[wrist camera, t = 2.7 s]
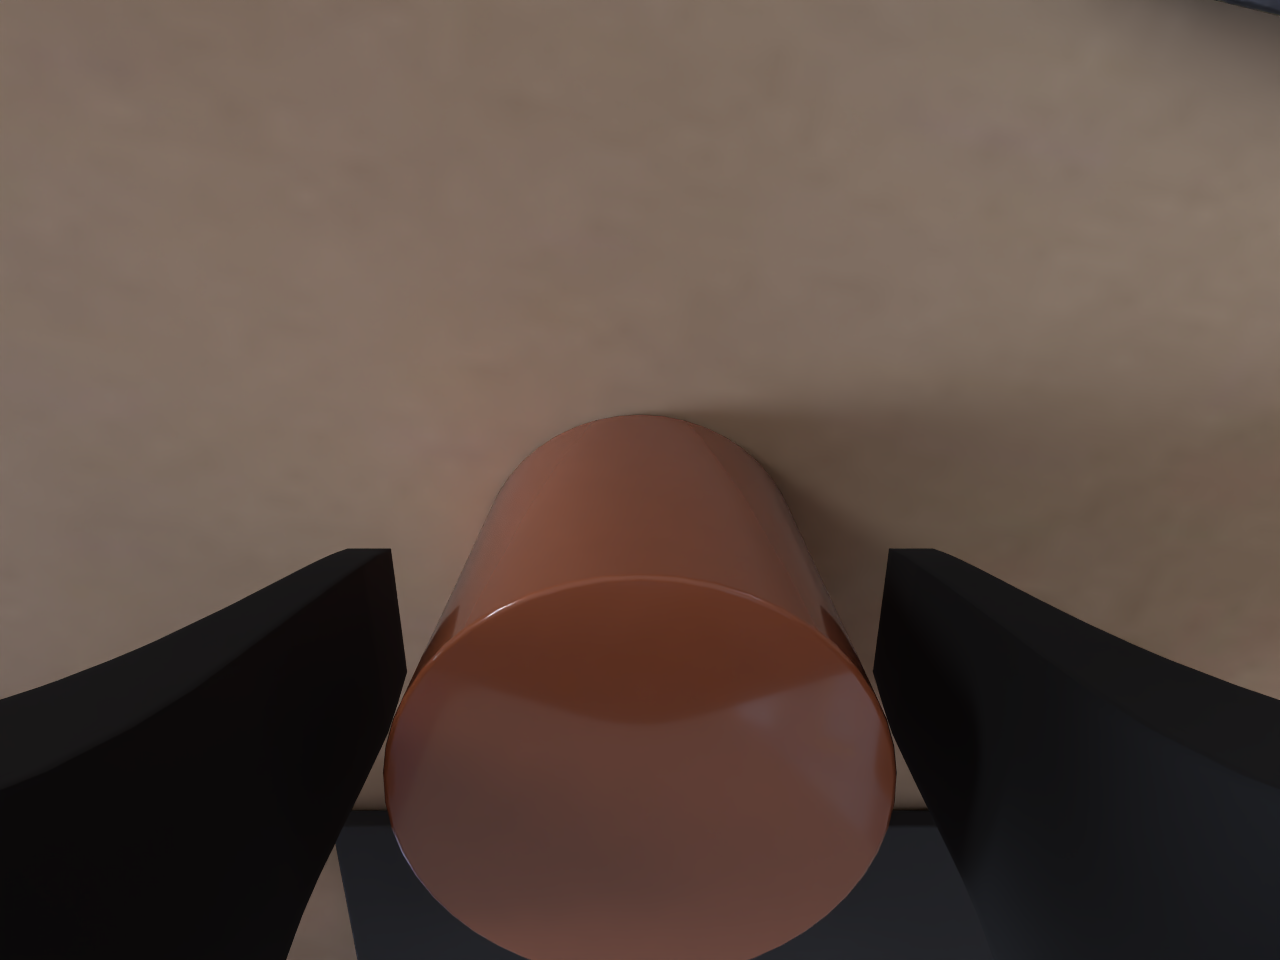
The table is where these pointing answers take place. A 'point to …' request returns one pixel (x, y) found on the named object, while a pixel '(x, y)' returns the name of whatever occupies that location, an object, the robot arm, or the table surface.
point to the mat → (822, 956)
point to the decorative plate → (1258, 5)
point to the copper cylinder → (639, 713)
